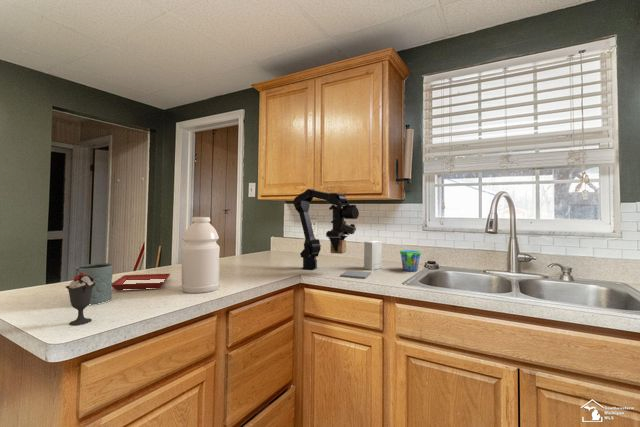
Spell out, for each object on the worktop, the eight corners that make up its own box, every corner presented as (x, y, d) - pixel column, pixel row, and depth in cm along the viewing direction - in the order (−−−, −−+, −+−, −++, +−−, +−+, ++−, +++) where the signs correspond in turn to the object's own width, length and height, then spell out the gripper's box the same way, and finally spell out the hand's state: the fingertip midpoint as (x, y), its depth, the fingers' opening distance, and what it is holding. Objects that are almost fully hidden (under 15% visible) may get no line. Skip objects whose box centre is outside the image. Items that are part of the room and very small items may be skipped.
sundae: (67, 328, 80) (68, 270, 80) (62, 322, 85) (62, 267, 85) (98, 322, 85) (98, 267, 85) (92, 316, 90) (92, 264, 90)
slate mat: (340, 276, 147) (340, 274, 147) (347, 271, 158) (347, 270, 158) (365, 278, 143) (365, 277, 143) (371, 273, 154) (371, 272, 154)
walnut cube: (330, 253, 152) (330, 240, 152) (334, 251, 157) (334, 239, 157) (342, 253, 149) (342, 241, 149) (346, 252, 155) (346, 240, 155)
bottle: (202, 295, 113) (202, 217, 112) (172, 291, 118) (173, 217, 117) (226, 286, 126) (227, 217, 126) (199, 283, 131) (199, 216, 130)
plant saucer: (170, 280, 138) (170, 272, 138) (163, 290, 120) (163, 281, 120) (123, 282, 132) (123, 274, 132) (109, 293, 115) (109, 284, 115)
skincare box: (373, 267, 173) (374, 240, 172) (382, 268, 168) (382, 241, 168) (363, 268, 167) (363, 241, 167) (371, 270, 163) (372, 242, 162)
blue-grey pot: (106, 304, 100) (106, 267, 100) (69, 307, 98) (69, 269, 97) (117, 296, 110) (117, 262, 110) (83, 298, 107) (83, 263, 107)
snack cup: (403, 267, 174) (403, 248, 174) (423, 268, 169) (423, 250, 169) (396, 271, 160) (396, 252, 160) (417, 274, 155) (418, 253, 155)
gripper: (348, 219, 142) (348, 253, 142) (359, 218, 159) (359, 249, 159) (325, 219, 146) (325, 252, 146) (338, 218, 163) (338, 248, 163)
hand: (338, 250), depth 153 cm, fingers closed on walnut cube, 6 cm apart
